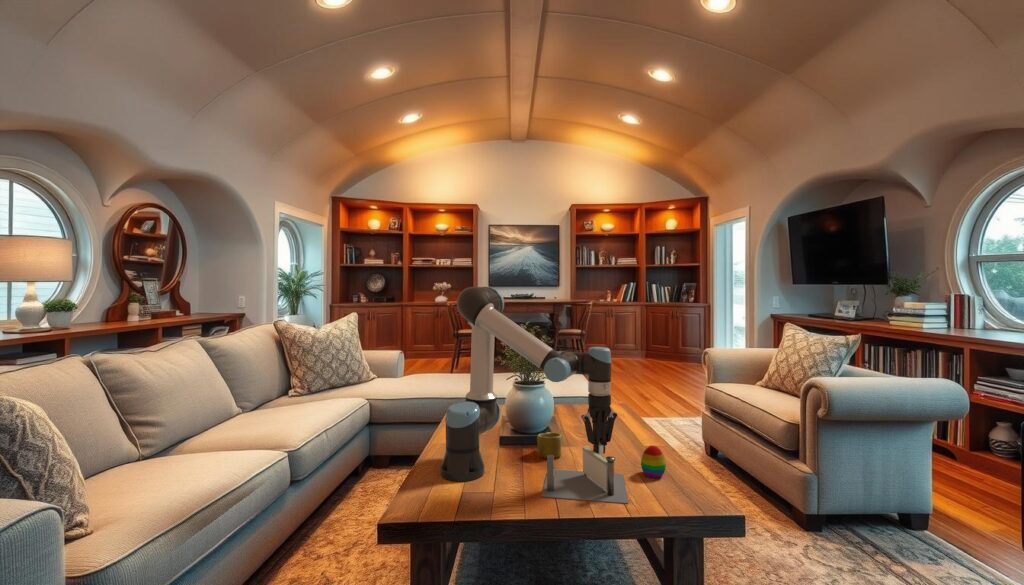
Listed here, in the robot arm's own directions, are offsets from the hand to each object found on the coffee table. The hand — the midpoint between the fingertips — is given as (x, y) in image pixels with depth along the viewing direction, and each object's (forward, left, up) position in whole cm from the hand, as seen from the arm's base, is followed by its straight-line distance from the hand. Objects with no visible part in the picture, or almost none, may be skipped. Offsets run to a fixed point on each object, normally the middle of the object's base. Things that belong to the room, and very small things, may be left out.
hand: (599, 463), depth 156 cm
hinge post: (+3, -12, -5) cm, 14 cm away
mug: (-19, +21, -6) cm, 29 cm away
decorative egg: (+18, +7, -6) cm, 20 cm away
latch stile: (-15, -12, -5) cm, 20 cm away
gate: (-1, -4, -5) cm, 6 cm away
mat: (-5, -6, -5) cm, 9 cm away
